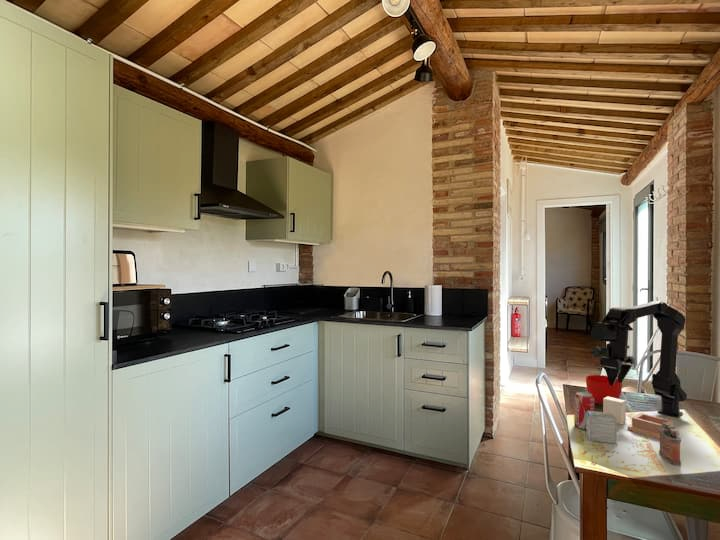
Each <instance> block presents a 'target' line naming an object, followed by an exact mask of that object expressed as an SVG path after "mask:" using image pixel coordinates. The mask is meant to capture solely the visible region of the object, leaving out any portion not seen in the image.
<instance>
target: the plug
mask: <svg viewBox="0 0 720 540" xmlns="http://www.w3.org/2000/svg"><path fill="white" fill-rule="evenodd" d="M626 406H627V401H626V399H625V400H624V399H621V398H619V399H617V398H613V397H609V396H607V397H605V398H603V405H602V409H603V411H602V412H606V413H613V415H614V416H615V417H616V419H617V420H616V424H617V423H619V424H618V425H620V424H622V423H623V424H625V423H626V422H627V414H626V413H627V412H626V411H627V409H626ZM625 421H626V422H625ZM624 422H625V423H624ZM623 424H622V425H623Z"/></svg>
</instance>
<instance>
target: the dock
mask: <svg viewBox="0 0 720 540" xmlns="http://www.w3.org/2000/svg"><path fill="white" fill-rule="evenodd" d="M663 422H666V423H667V424H668V425H669V426H673V427H674V429H675V430H677V434H676V435H677V436H678V435H679V434H680V430H679V429H677V428H675V420H671V419H667V418H663V417H661V416H660V417H658V416H657V415H656V416H655V415H651V414H647V413H643V412H639V413H637V414H636V415H635V416H632V417H631V423H630V424H628V425H627V430H628V429H629V430H628V431H631V430H632V432H634V433H635V432H636V433H639V434H641V435H646V436H648V437H652V438H657V439H659V440H660V433H659V429H665V428H664V427H662V423H663Z"/></svg>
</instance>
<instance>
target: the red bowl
mask: <svg viewBox="0 0 720 540" xmlns="http://www.w3.org/2000/svg"><path fill="white" fill-rule="evenodd" d="M585 383H586V390H587V393H590V394H592V396H593V398H594V404H597V403H598V404H597V405H600V404H602V405H601V406H603V398H605V397H607V396H609V397H613V398H617V399H620V397H621V395H622V391H623V390H622V389H623V382H622V383H619V382H618V378H617V379H616V381H615V383H614V385H613V386H611V385H609V381H608V377H607V375H602V374H601V375H600V374H589V375H587V376H586V377H585Z"/></svg>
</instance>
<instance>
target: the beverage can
mask: <svg viewBox="0 0 720 540" xmlns="http://www.w3.org/2000/svg"><path fill="white" fill-rule="evenodd" d="M573 400H574V401H573V402H574V404H573V405H574V406H573V407H574V416H573V417H574V420H573V421H574V425H575V426H576V427H577V428H579V429H582V430H585V431H587V411H595V401H594V398H593V396H592V394H590V393H588V391H577V392H576V393H575V395H574V397H573Z"/></svg>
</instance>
